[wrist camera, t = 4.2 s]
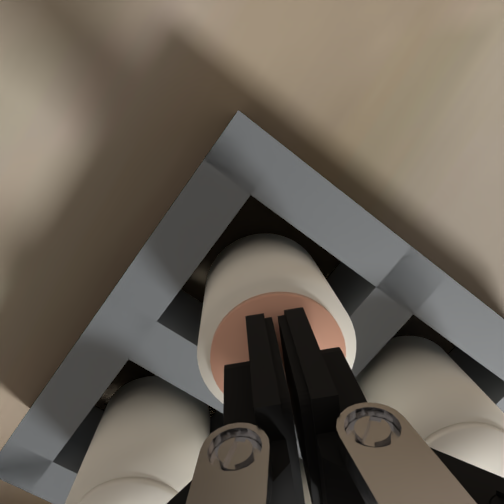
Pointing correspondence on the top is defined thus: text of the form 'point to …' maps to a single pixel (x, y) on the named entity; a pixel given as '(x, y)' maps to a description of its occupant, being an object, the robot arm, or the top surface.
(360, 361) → the gray compartment tray
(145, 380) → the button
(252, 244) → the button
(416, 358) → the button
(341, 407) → the robot arm
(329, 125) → the top surface
